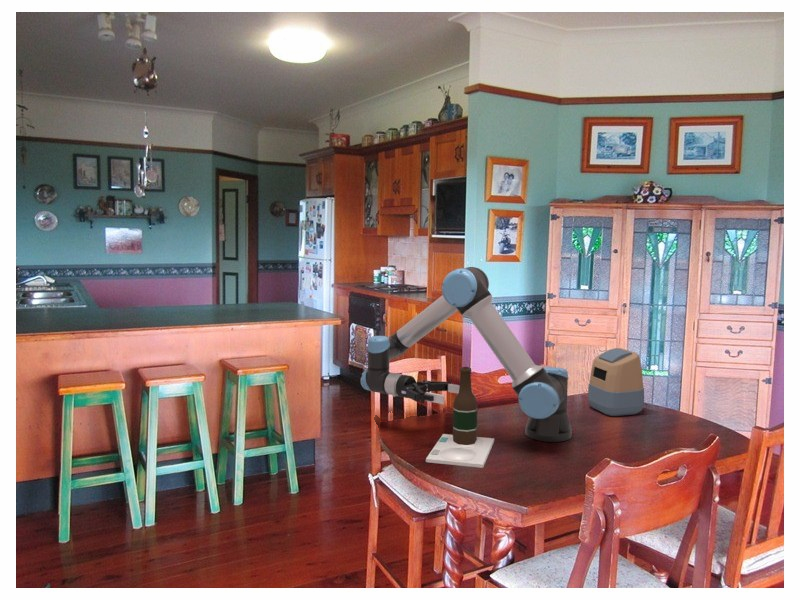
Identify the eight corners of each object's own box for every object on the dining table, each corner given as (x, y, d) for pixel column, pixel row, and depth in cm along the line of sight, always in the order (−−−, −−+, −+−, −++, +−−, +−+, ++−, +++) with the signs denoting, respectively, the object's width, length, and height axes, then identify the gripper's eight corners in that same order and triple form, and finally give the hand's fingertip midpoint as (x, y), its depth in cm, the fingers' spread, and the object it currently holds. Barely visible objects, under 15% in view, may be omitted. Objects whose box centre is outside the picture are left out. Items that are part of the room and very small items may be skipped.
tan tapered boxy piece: (583, 406, 250) (585, 347, 247) (621, 403, 254) (623, 345, 252) (608, 418, 234) (610, 356, 231) (648, 415, 238) (650, 353, 236)
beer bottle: (450, 437, 209) (451, 365, 207) (474, 437, 210) (475, 364, 207) (454, 445, 202) (455, 370, 199) (479, 445, 202) (480, 370, 200)
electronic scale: (494, 441, 209) (494, 437, 209) (482, 467, 186) (483, 463, 186) (443, 436, 214) (443, 433, 214) (425, 462, 191) (425, 458, 191)
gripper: (421, 388, 229) (473, 398, 217) (378, 404, 209) (433, 415, 197) (421, 368, 228) (474, 376, 216) (378, 381, 208) (433, 391, 196)
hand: (454, 395), depth 206 cm, fingers open, 13 cm apart
